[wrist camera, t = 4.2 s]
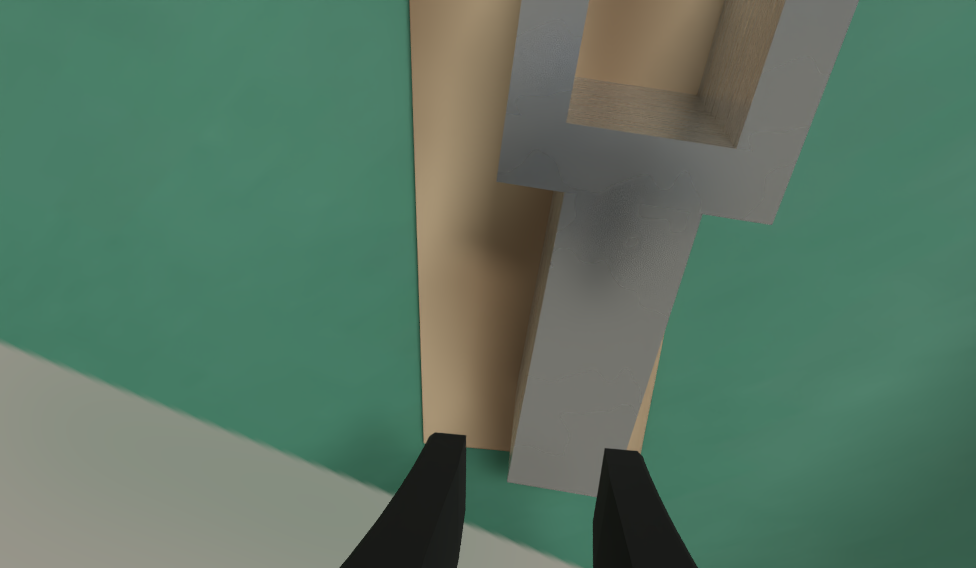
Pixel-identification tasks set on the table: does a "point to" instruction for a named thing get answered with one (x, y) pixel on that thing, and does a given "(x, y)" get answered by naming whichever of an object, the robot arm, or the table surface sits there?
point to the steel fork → (639, 205)
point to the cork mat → (507, 189)
